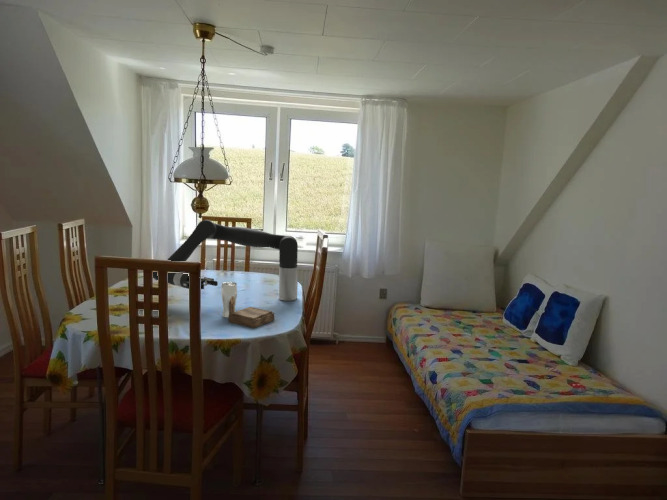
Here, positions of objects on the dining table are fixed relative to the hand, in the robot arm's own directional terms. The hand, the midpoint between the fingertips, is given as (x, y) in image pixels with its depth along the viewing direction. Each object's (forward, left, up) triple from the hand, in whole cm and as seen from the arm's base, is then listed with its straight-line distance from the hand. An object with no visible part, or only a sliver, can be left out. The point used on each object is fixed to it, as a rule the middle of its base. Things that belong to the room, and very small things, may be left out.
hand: (210, 285), depth 205 cm
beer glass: (0, +11, -13) cm, 17 cm away
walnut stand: (0, +24, -13) cm, 28 cm away
